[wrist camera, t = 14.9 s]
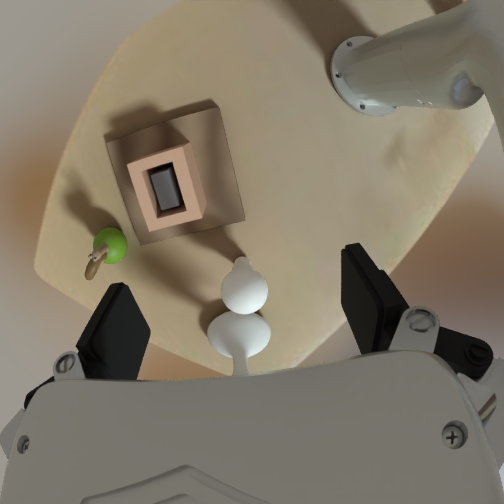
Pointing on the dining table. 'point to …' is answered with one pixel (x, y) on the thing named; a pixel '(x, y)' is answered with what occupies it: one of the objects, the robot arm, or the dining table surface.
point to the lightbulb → (244, 288)
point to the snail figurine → (106, 250)
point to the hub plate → (206, 165)
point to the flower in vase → (239, 337)
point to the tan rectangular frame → (188, 183)
